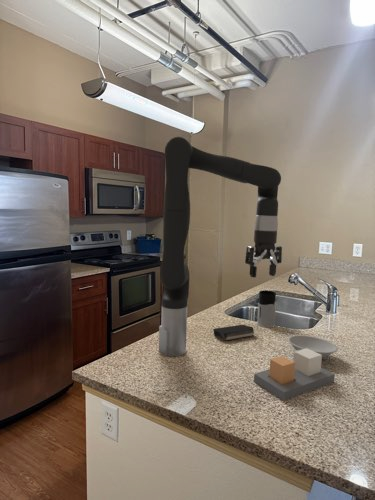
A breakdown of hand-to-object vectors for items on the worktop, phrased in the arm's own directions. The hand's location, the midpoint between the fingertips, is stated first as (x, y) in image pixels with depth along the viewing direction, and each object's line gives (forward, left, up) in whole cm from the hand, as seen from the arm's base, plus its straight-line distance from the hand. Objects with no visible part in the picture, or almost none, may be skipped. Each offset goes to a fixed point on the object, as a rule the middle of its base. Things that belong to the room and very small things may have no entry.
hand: (262, 276), depth 117 cm
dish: (+18, -8, -30) cm, 36 cm away
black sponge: (+6, +21, -30) cm, 37 cm away
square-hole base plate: (-2, -18, -30) cm, 34 cm away
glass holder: (+26, +27, -30) cm, 48 cm away
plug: (-7, -18, -30) cm, 35 cm away
